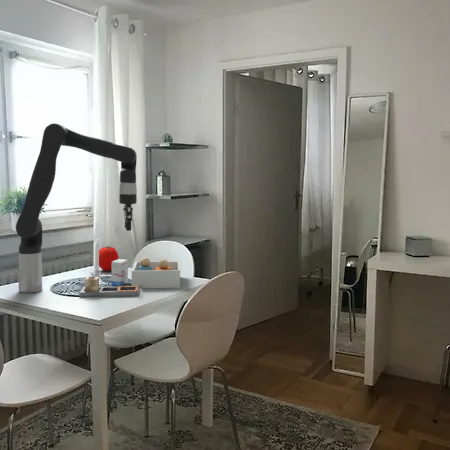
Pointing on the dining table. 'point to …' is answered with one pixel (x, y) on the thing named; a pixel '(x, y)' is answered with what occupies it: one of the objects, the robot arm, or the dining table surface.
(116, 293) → the gray sorting tray
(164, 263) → the wooden peg dolls
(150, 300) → the dining table surface
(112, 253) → the tomato
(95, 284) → the beige upright block
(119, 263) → the ink box
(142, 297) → the dining table surface
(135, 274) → the box
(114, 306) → the dining table surface
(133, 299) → the dining table surface
